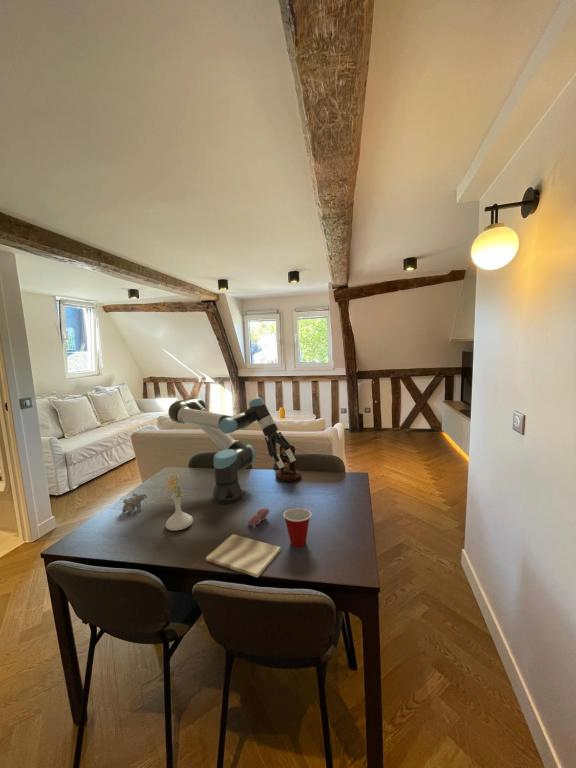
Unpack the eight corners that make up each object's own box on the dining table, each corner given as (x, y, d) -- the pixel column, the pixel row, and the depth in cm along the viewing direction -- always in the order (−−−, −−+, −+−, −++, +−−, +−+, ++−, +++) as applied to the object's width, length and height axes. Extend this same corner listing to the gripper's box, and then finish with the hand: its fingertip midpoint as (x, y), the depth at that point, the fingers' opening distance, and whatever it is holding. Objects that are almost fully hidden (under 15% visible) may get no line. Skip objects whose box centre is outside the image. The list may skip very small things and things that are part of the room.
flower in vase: (165, 523, 146) (160, 468, 143) (191, 516, 150) (187, 464, 148) (166, 538, 134) (161, 479, 131) (195, 531, 139) (190, 473, 136)
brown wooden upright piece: (306, 476, 190) (305, 443, 188) (289, 485, 179) (288, 450, 177) (287, 471, 200) (285, 439, 198) (270, 479, 189) (268, 445, 187)
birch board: (206, 560, 119) (205, 557, 119) (232, 536, 133) (232, 534, 133) (257, 577, 109) (257, 574, 109) (280, 550, 123) (280, 547, 123)
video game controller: (254, 531, 139) (259, 519, 137) (246, 524, 141) (251, 512, 139) (267, 520, 147) (272, 508, 145) (260, 513, 149) (264, 502, 147)
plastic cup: (315, 536, 131) (314, 508, 129) (308, 553, 120) (307, 522, 119) (289, 532, 134) (288, 504, 133) (280, 548, 124) (279, 518, 122)
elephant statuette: (119, 516, 155) (117, 501, 153) (134, 502, 166) (132, 488, 165) (137, 517, 153) (135, 502, 152) (151, 503, 165) (149, 489, 164)
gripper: (261, 425, 154) (282, 467, 150) (284, 420, 177) (303, 455, 173) (250, 433, 157) (270, 473, 153) (273, 426, 180) (292, 461, 175)
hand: (288, 464), depth 163 cm, fingers open, 13 cm apart
